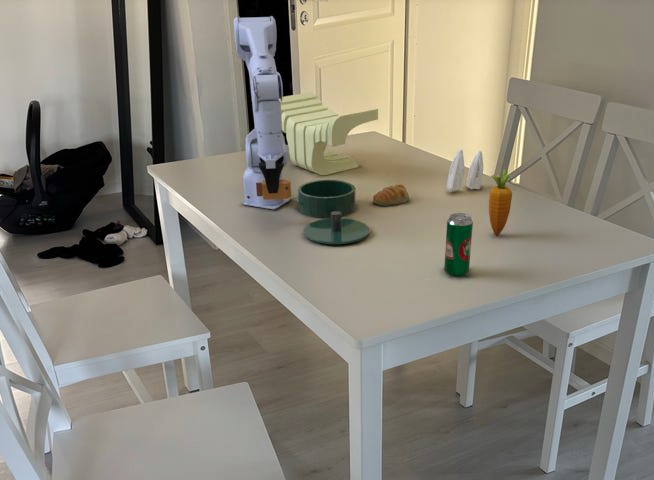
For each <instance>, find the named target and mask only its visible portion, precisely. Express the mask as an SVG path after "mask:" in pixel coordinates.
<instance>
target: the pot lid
mask: <svg viewBox="0 0 654 480" xmlns="http://www.w3.org/2000/svg"><path fill="white" fill-rule="evenodd" d="M302 232H303V233H302V234H303V235H304V237H305V238H307V239H308V240H309V241H312V242H314V243H318V244H319V243H320V244H326V245H346V244H352V243H355V242H359V241H362V240H364V239H365V238H367V237H368V236H369V235H370V227H369V226H368V224H366V223H364V222H362V221H360V220H357V219H353V218H344V217H343V218H342V216H341V212H339V211H334V212H331V218H321V219H318V220H315V221H312V222H310V223H308V224H306V225H305V226H304V228H303V231H302Z"/></svg>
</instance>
